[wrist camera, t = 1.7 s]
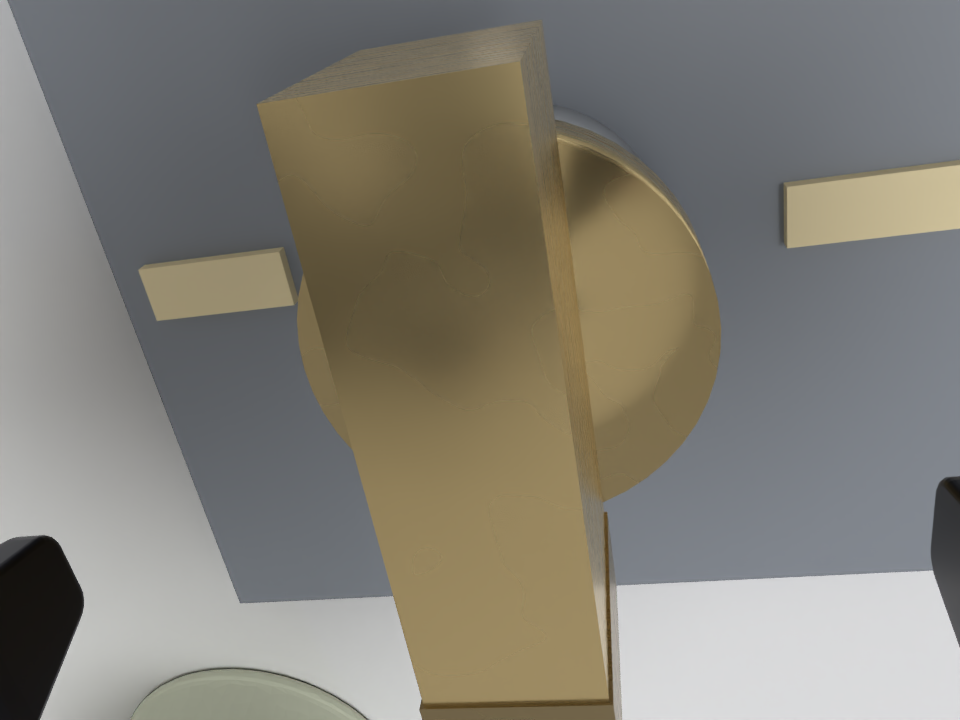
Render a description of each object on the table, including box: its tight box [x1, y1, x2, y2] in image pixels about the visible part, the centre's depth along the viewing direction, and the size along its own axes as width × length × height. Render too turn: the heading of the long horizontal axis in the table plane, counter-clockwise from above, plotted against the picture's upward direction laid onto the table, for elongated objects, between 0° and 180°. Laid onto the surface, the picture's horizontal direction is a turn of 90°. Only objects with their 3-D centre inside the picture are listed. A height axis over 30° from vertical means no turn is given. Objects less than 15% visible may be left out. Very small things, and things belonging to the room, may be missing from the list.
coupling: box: [256, 19, 721, 720], centre depth 12 cm, size 6×9×5 cm
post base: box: [8, 0, 960, 603], centre depth 16 cm, size 18×18×4 cm
